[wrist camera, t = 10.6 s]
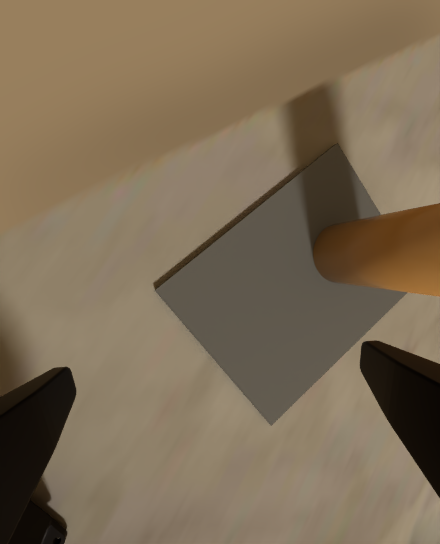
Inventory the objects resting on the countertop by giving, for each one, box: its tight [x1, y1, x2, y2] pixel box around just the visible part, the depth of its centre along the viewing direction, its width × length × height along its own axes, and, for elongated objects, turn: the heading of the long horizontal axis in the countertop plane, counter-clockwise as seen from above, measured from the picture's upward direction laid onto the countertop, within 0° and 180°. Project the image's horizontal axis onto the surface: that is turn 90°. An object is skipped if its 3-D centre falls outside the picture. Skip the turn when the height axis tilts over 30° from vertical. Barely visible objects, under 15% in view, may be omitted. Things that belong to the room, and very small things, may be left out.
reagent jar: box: [313, 203, 440, 296], centre depth 15 cm, size 5×5×13 cm
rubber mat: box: [155, 143, 407, 426], centre depth 21 cm, size 18×14×1 cm
